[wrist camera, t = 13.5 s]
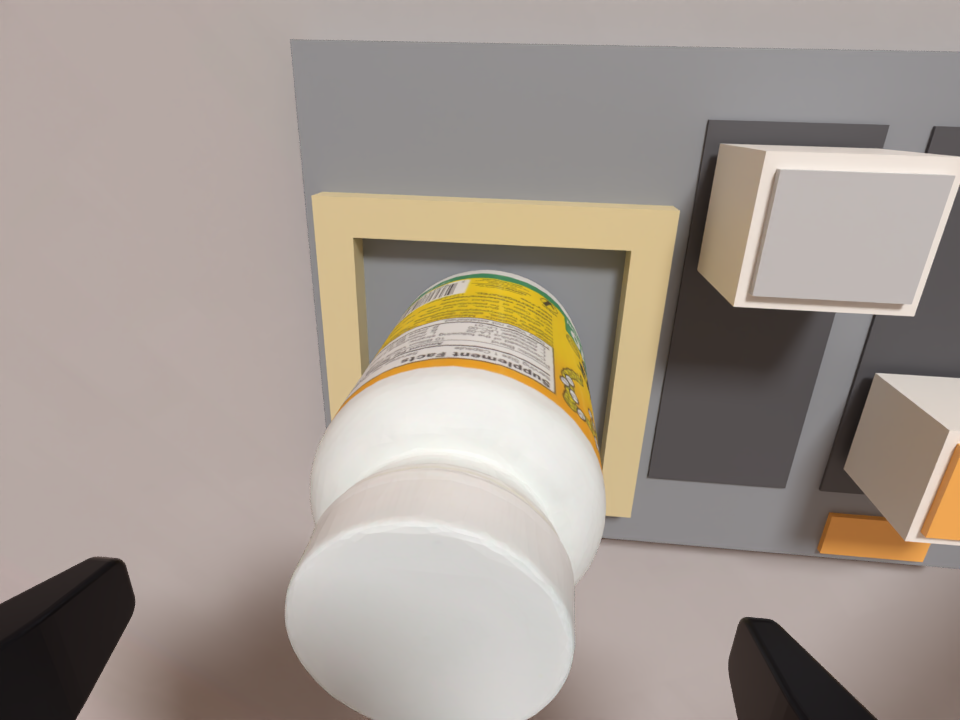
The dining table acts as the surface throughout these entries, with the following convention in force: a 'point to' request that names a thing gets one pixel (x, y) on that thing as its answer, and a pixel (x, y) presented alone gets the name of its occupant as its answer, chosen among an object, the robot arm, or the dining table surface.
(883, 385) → the white orange-topped block
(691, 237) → the breaker panel
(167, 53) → the dining table surface
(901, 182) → the toggle plain
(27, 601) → the robot arm
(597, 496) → the supplement bottle
